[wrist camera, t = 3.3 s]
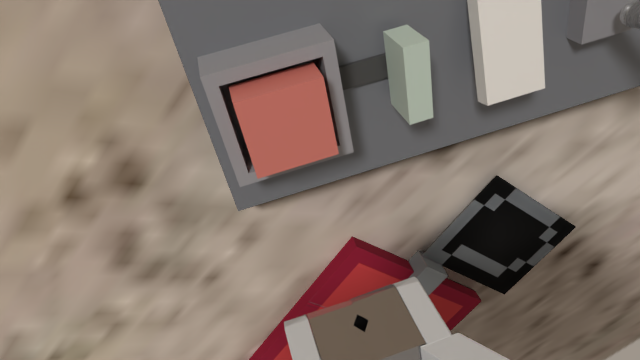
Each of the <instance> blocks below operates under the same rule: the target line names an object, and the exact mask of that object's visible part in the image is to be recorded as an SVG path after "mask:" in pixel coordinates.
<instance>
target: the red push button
mask: <svg viewBox="0 0 640 360" xmlns="http://www.w3.org/2000/svg"><path fill="white" fill-rule="evenodd" d="M228 87H229V91H230V95H231V99H232V103H233V106H234V109H235V112H236V115H237V118H238V121H239V124H240V127H241V130H242V133H243V136H244V139H245V142H246V145H247V148H248V151H249V154H250V157H251V160H252V163H253V166H254V169H255V172H256V175H257V178H258V179H259V178H262V177H266V176H269V175H272V174H275V173H279V172H282V171H285V170H288V169H292V168H295V167H298V166H302V165H305V164H308V163H311V162H315V161H318V160H321V159H324V158H328V157H331V156H334V155H337V154H339V152H338V147H337V142H336V137H335V132H334V127H333V122H332V117H331V112H330V107H329V102H328V97H327V92H326V87H325V82H324V77H323V76H322V74H321V73H320V71H319V70H318V68H317V67H316V65H315V64H314V62H311V63H308V64H304V65H301V66H297V67H294V68H290V69H287V70H283V71H280V72H276V73H273V74H269V75H266V76H262V77H259V78H255V79H252V80H248V81H245V82H241V83H238V84H234V85H231V86H228Z"/></svg>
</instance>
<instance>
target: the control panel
mask: <svg viewBox="0 0 640 360" xmlns="http://www.w3.org/2000/svg"><path fill="white" fill-rule="evenodd" d="M158 1H159V4H160V6H161V9H162V11H163V14H164V17H165V19H166V22H167V25H168V27H169V30H170V33H171V35H172V38H173V40H174V43H175V46H176V48H177V51H178V54H179V56H180V59H181V62H182V64H183V67H184V69H185V72H186V75H187V77H188V80H189V83H190V85H191V88H192V90H193V93H194V96H195V98H196V101H197V104H198V106H199V109H200V112H201V114H202V117H203V119H204V122H205V125H206V127H207V130H208V133H209V135H210V138H211V141H212V143H213V146H214V148H215V151H216V154H217V156H218V159H219V162H220V164H221V167H222V169H223V172H224V175H225V177H226V180H227V183H228V185H229V188H230V191H231V193H232V196H233V198H234V201H235V204H236V206H237V209H238V211H240V210H243V209H246V208H250V207H253V206H256V205H259V204H263V203H266V202H269V201H272V200H275V199H279V198H282V197H285V196H288V195H291V194H295V193H298V192H301V191H304V190H307V189H311V188H314V187H317V186H320V185H323V184H327V183H330V182H333V181H336V180H339V179H343V178H346V177H349V176H352V175H355V174H359V173H362V172H365V171H368V170H371V169H375V168H378V167H381V166H384V165H388V164H391V163H394V162H397V161H400V160H404V159H407V158H410V157H413V156H416V155H420V154H423V153H426V152H429V151H432V150H436V149H439V148H442V147H445V146H448V145H452V144H455V143H458V142H461V141H464V140H468V139H471V138H474V137H477V136H480V135H484V134H487V133H490V132H493V131H496V130H500V129H503V128H506V127H509V126H513V125H516V124H519V123H522V122H525V121H529V120H532V119H535V118H538V117H541V116H545V115H548V114H551V113H554V112H557V111H561V110H564V109H567V108H570V107H573V106H577V105H580V104H583V103H586V102H589V101H593V100H596V99H599V98H602V97H605V96H609V95H612V94H615V93H618V92H621V91H625V90H628V89H631V88H634V87H638V86H640V29H637V28H632V27H628V26H625V25H624V24H623V23H622V22H621V20H620V12H621V10H622V8H623V7H624V6H625V5H626V4H628V3H630V2H633V1H640V0H541V8H542V30H543V52H544V74H545V88H544V89H541V90H538V91H534V92H531V93H528V94H525V95H521V96H518V97H515V98H511V99H508V100H505V101H502V102H498V103H495V104H492V105H489V106H487V105H485V104H482V103H480V102H478V98H477V88H476V79H475V69H474V60H473V51H472V41H471V32H470V22H469V13H468V3H467V0H158ZM404 25H408V26H410V27H411V28H413V29H414V30H415V31H417V32H418V33H420V34H421V35H422V36H424V37H425V38H427V39H428V40H429V48H430V66H431V84H432V102H433V118H431V119H427V120H424V121H421V122H418V123H414V124H411V125H409V123H408V122H407V121H406V120H405V119H404V118H403V117H402V115H401V114H400V113H399V112H398V111H397V110H396V109H395V108H394V106H393V105H392V104H391V98H390V89H389V80H388V71H387V62H386V53H385V45H384V36H383V31H386V30H389V29H393V28H397V27H400V26H404ZM311 62H314V64H315V65H316V67H317V68H318V70H319V71H320V73H321V74H322V76H323V77H324V82H325V87H326V92H327V97H328V102H329V107H330V112H331V117H332V122H333V127H334V132H335V137H336V142H337V147H338V152H339V154H337V155H334V156H331V157H328V158H324V159H321V160H318V161H315V162H311V163H308V164H305V165H302V166H298V167H295V168H292V169H288V170H285V171H282V172H279V173H275V174H272V175H269V176H266V177H262V178H259V179H258V178H257V175H256V172H255V169H254V166H253V163H252V160H251V157H250V154H249V151H248V148H247V145H246V142H245V139H244V136H243V133H242V130H241V127H240V124H239V121H238V118H237V115H236V112H235V109H234V106H233V103H232V99H231V95H230V91H229V87H228V86H231V85H234V84H238V83H241V82H245V81H248V80H252V79H255V78H259V77H262V76H266V75H269V74H273V73H276V72H280V71H283V70H287V69H290V68H294V67H297V66H301V65H304V64H308V63H311Z"/></svg>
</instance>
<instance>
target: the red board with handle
mask: <svg viewBox="0 0 640 360" xmlns="http://www.w3.org/2000/svg"><path fill="white" fill-rule="evenodd" d="M574 228H575V226H574V225H572V224H571V223H569V222H568V221H566V220H565V219H563V218H562V217H560V216H558V215H557V214H555V213H554V212H552V211H551V210H549V209H548V208H546V207H545V206H543V205H542V204H540V203H539V202H537V201H536V200H534V199H532V198H531V197H529V196H528V195H526V194H525V193H523V192H522V191H520V190H519V189H517V188H516V187H514V186H513V185H511V184H509V183H508V182H506V181H505V180H503V179H502V178H500V177H499V176H496V177H495V178H494V179H493V180H492V181H491V182H490V183H489V184H488V185H487V186H486V187H485V188H484V189H483V190H482V192H481V193H480V194H479V195H478V196H477V197H476V198H475V199H474V200H473V201H472V202H471V203H470V204H469V205H468V206H467V208H466V209H465V210H464V211H463V212H462V213H461V214H460V215H459V216H458V217H457V218H456V219H455V220H454V221H453V222H452V224H451V225H450V226H449V227H448V228H447V229H446V230H445V231H444V232H443V233H442V234H441V235H440V236H439V237H438V238H437V240H436V241H435V242H434V243H433V244H432V245H431V246H430V247H429V248H428V249H427V250H426V251H425V252H424V253H423V252H421V251H419V250H418V251H417V252H416V253H415V254H414V255H413V256H412V257H411V258H410V260H409V261H407V260H405V259H403V258H400V257H398V256H396V255H394V254H391V253H389V252H387V251H385V250H382V249H380V248H378V247H375V246H373V245H371V244H368V243H366V242H364V241H361V240H359V239H357V238H355V237H351V239H350V240H349V241H348V242H347V243H346V245H345V246H344V247H343V248H342V249H341V251H340V252H339V253H338V254H337V255H336V257H335V258H334V259H333V260H332V261H331V263H330V264H329V265H328V266H327V267H326V268H325V270H324V271H323V272H322V273H321V274H320V276H319V277H318V278H317V279H316V280H315V282H314V283H313V284H312V285H311V286H310V288H309V289H308V290H307V291H306V292H305V294H304V295H303V296H302V297H301V298H300V299H299V301H298V302H297V303H296V304H295V305H294V307H293V308H292V309H291V310H290V311H289V313H288V314H287V315H286V316H285V317H284V319H283V320H282V321H281V322H280V323H279V325H278V326H277V327H276V328H275V329H274V330H273V332H272V333H271V334H270V335H269V336H268V338H267V339H266V340H265V341H264V342H263V344H262V345H261V346H260V347H259V348H258V350H257V351H256V352H255V353H254V354H253V356H252V357H251V358H250V359H249V360H292V356H291V352H290V348H289V344H288V340H287V337H286V333H285V329H284V322H285V321H288V320H291V319H294V318H297V317H300V316H303V315H305V314H306V315H307V314H308V313H311V312H314V311H318V310H321V309H324V308H327V307H330V306H333V305H336V304H339V303H342V302H345V301H349V300H350V299H352V298H354V297H357V296H360V295H362V294H365V293H368V292H371V291H373V290H376V289H379V288H382V287H384V286H387V285H390V284H392V285H393V284H394V283H397V282H400V281H402V280H405V279H408V278H411V277H416V278H417V279H418V280H419V282H420V283H421V285H422V286H423V288H424V290H425V291H426V293H427V295H428V296H429V298H430V299H431V301H432V303H433V304H434V306H435V308H436V309H437V311H438V312H439V314H440V316H441V317H442V319H443V320H444V322H445V324H446V325H447V327H448V329H449V330H450V331H451V330H452V329H453V328H454V327H455V326H456V325H457V324H458V323H459V322H460V321H461V320H462V319H463V318H464V317H465V316H466V315H467V314H468V313H470V312H471V311H472V310H473V309H474V308H475V307H476V306H477V305H478V304H479V303H480V302H481V299H480V298H479V296H478V295H477V293H476V292H475V291H474V290H472V289H470V288H467V287H465V286H463V285H461V284H459V283H456V282H454V281H452V280H450V279H447V276H448V274H447V273H446V271H445V270H444V268H443V267H442V266H444V267H447V268H449V269H451V270H453V271H455V272H457V273H460V274H462V275H464V276H466V277H468V278H470V279H472V280H475V281H477V282H479V283H481V284H483V285H485V286H488V287H490V288H492V289H494V290H496V291H498V292H501V293H503V294H505V293H506V292H507V291H509V290H510V289H511V288H512V287H513V286H514V285H515V284H516V283H517V282H518V281H519V280H520V279H521V278H522V277H523V276H524V275H526V274H527V273H528V272H529V271H530V270H531V269H532V268H533V267H534V266H535V265H536V264H537V263H538V262H539V261H540V260H541V259H543V258H544V257H545V256H546V255H547V254H548V253H549V252H550V251H551V250H552V249H553V248H554V247H555V246H556V245H557V244H558V243H560V242H561V241H562V240H563V239H564V238H565V237H566V236H567V235H568V234H569V233H570V232H571V231H572V230H573V229H574ZM307 318H308V316H307ZM308 321H309V320H308ZM309 324H310V323H309ZM310 327H311V326H310ZM311 330H312V329H311ZM312 333H313V332H312Z"/></svg>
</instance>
